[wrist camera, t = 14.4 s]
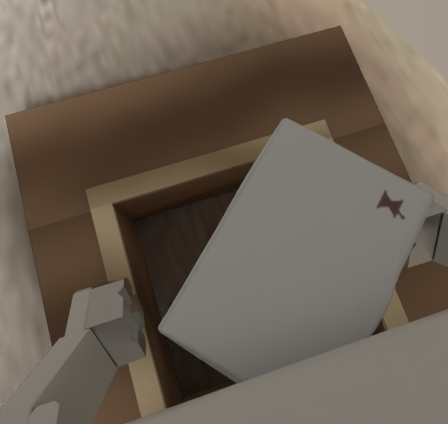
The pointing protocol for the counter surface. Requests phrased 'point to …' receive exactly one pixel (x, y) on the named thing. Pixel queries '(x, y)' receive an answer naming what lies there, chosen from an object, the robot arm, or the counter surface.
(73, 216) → the walnut socket board
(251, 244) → the skincare box
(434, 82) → the counter surface
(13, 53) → the counter surface
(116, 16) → the counter surface
